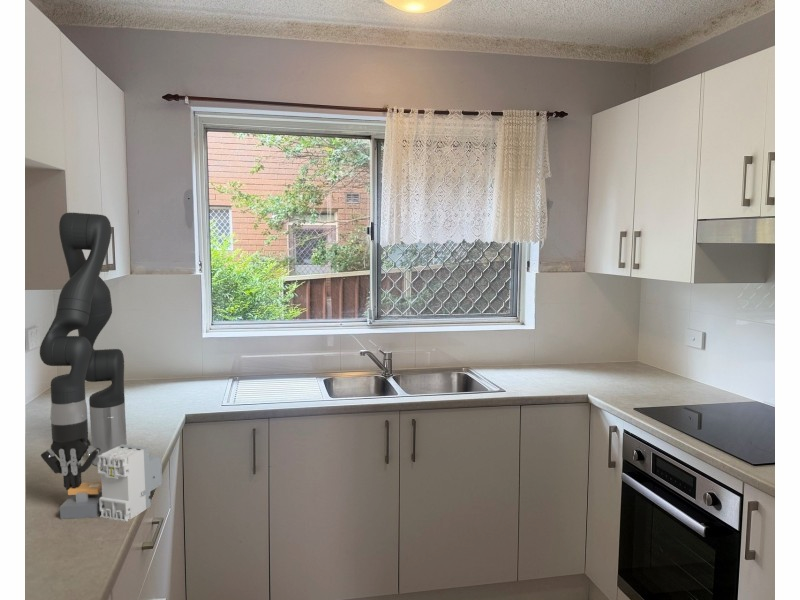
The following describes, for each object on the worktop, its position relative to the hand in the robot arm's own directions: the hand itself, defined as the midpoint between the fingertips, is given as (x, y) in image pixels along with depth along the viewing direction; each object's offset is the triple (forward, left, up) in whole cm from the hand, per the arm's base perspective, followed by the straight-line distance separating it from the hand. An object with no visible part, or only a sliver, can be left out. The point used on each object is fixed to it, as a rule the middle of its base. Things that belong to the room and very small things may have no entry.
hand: (72, 488), depth 138 cm
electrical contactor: (0, +14, -5) cm, 15 cm away
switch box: (0, +3, -5) cm, 6 cm away
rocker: (0, +3, -1) cm, 3 cm away
